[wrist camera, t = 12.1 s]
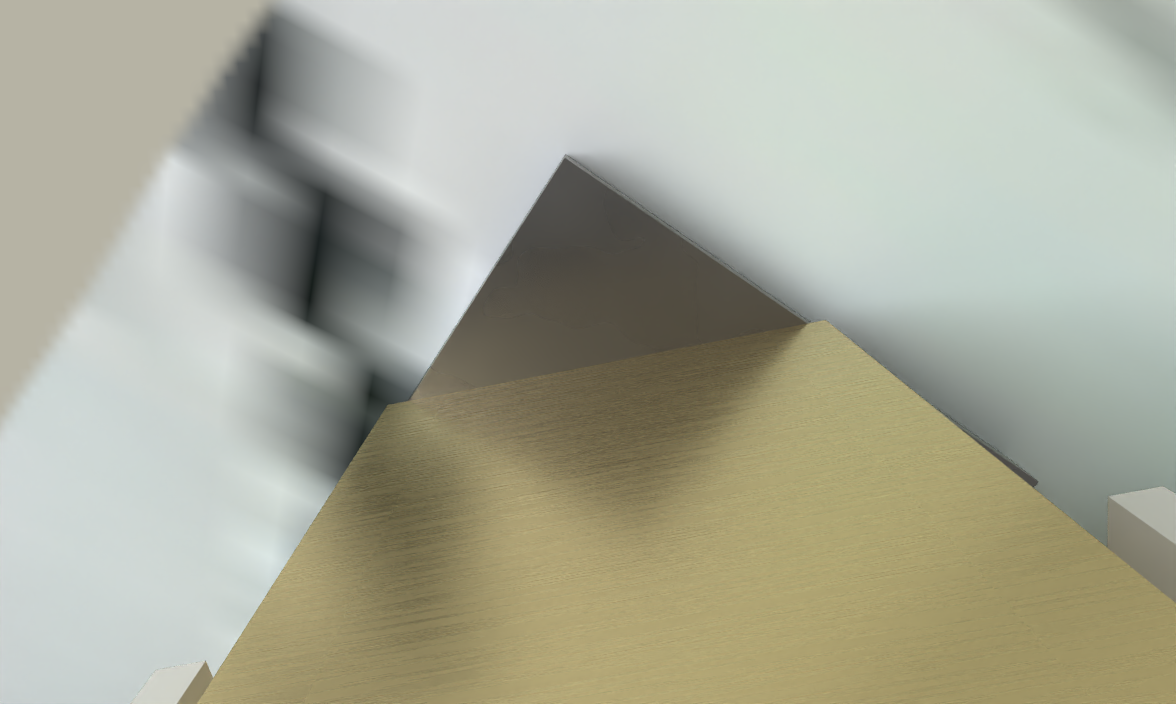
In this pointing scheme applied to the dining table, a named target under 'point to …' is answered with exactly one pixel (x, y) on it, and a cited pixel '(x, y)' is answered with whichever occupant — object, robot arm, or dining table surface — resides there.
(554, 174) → the knob-topped grey block
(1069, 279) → the dining table surface
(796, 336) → the brass sleeve
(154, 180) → the dining table surface
